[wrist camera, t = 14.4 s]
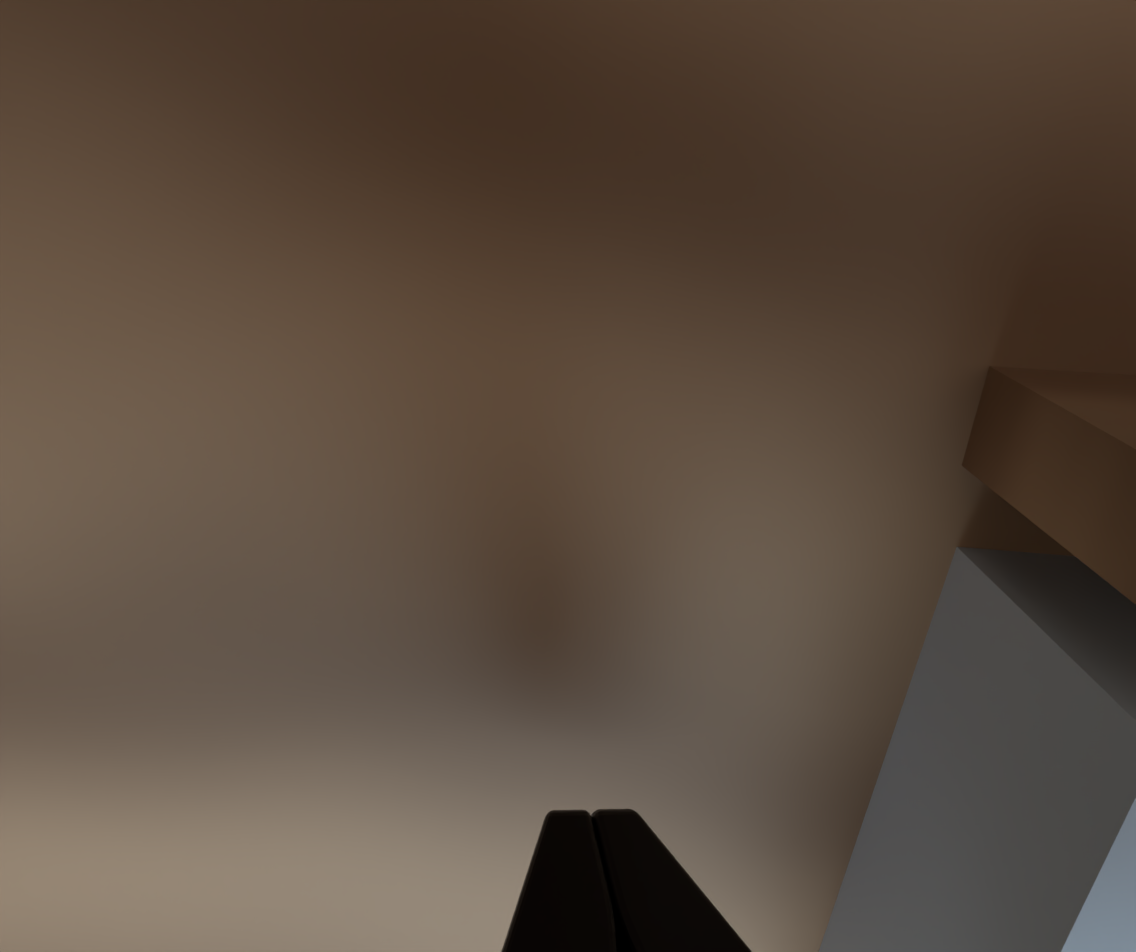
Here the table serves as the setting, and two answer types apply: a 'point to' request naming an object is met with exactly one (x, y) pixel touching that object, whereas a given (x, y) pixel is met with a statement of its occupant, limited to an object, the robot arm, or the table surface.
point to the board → (522, 435)
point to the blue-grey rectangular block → (1006, 773)
